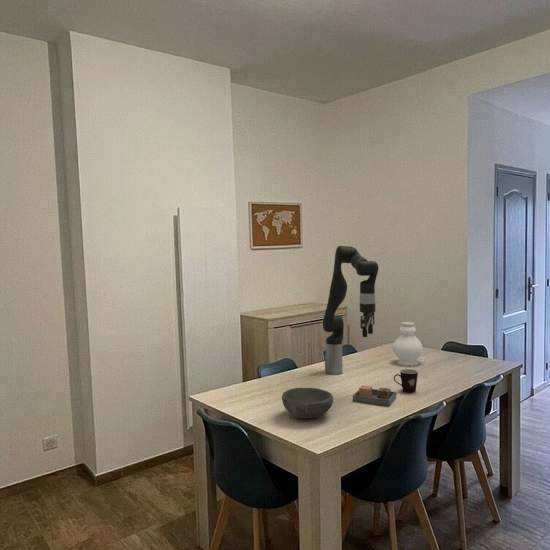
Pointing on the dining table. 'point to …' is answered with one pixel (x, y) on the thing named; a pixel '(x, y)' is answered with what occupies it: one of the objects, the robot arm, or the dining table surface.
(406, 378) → the coffee mug
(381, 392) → the walnut block
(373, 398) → the charcoal tray
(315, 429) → the dining table surface
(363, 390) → the terracotta block
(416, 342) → the decorative vase
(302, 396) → the bowl
